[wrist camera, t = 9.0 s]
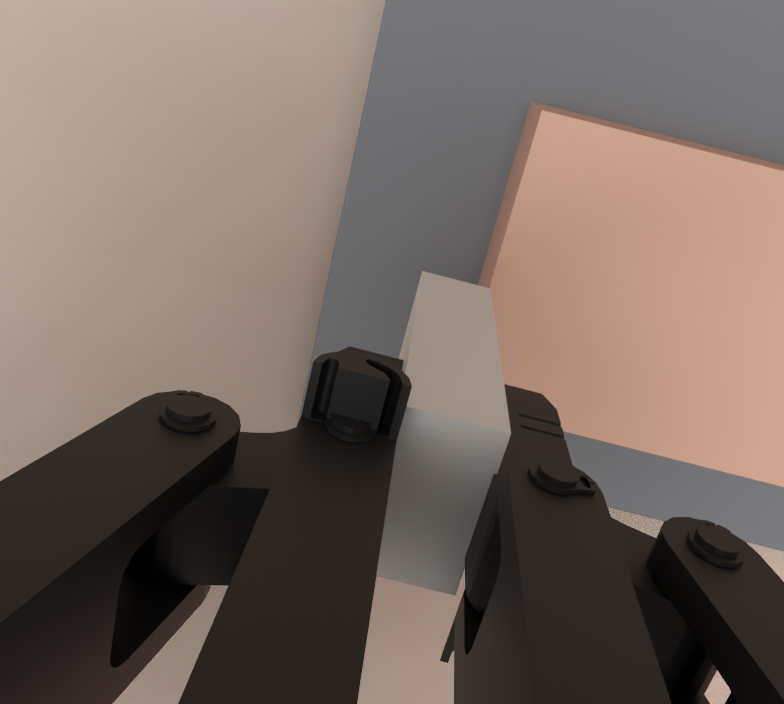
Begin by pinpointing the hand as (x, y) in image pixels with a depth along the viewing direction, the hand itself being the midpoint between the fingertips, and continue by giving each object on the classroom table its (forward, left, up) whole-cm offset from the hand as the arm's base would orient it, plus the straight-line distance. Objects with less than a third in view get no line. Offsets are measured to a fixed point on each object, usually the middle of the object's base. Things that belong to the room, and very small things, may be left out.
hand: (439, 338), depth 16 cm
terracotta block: (+1, 0, -8) cm, 8 cm away
